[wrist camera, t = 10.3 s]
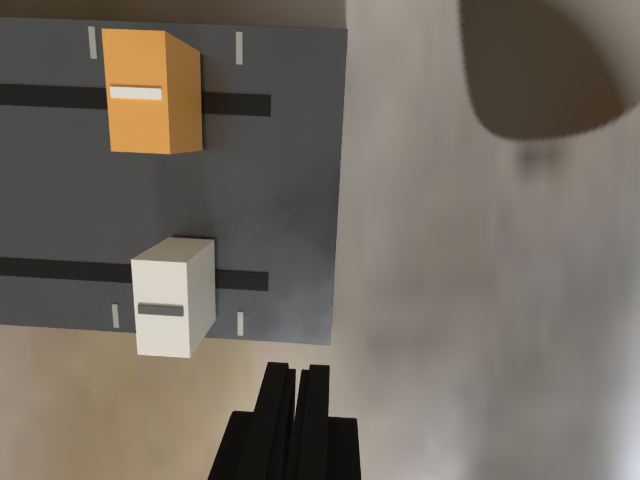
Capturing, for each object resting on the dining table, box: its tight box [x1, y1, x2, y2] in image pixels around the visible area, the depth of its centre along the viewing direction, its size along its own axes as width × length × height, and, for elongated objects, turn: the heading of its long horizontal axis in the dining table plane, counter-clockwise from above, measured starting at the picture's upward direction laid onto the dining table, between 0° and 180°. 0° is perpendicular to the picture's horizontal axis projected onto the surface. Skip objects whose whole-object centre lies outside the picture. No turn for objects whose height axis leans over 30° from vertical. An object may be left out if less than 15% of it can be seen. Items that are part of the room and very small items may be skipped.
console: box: [0, 17, 348, 345], centre depth 22 cm, size 24×16×2 cm, turn 88°
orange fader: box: [102, 29, 203, 154], centre depth 18 cm, size 2×4×4 cm, turn 178°
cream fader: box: [131, 237, 216, 358], centre depth 20 cm, size 2×4×4 cm, turn 178°
